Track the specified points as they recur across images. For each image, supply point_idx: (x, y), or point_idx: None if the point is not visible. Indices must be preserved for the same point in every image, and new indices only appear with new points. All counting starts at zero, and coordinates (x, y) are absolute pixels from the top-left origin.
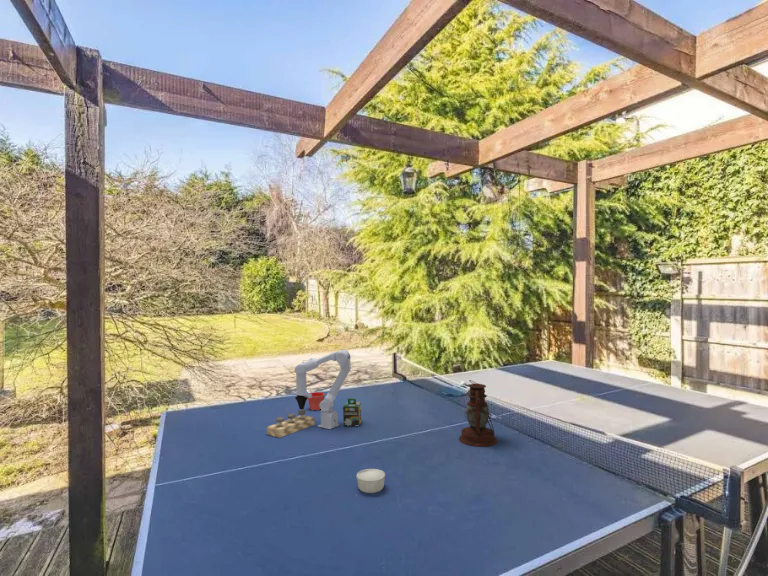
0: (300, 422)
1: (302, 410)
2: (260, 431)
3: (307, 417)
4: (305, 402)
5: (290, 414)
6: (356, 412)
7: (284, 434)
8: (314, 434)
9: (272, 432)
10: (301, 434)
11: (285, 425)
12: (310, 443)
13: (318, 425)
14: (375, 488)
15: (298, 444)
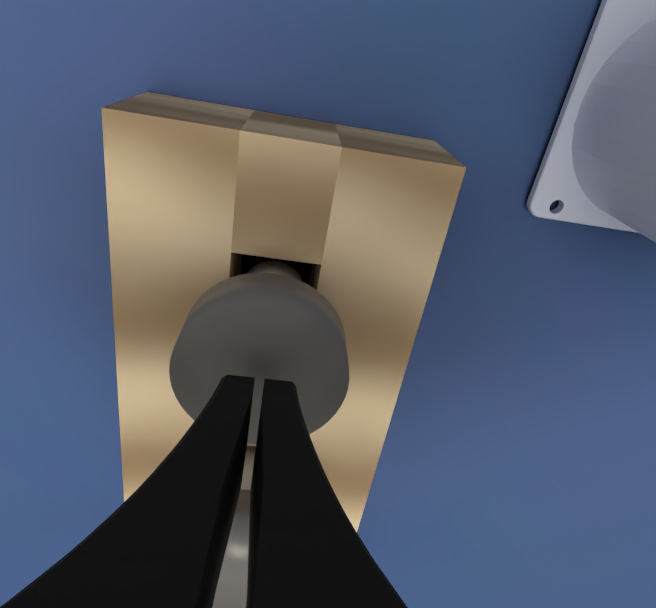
0: (378, 441)
1: (242, 342)
2: (27, 538)
3: (329, 215)
4: (341, 507)
5: (224, 576)
6: None
7: None
8: (594, 425)
9: None
10: (460, 467)
11: None
12: (635, 566)
13: (541, 201)
14: None
15: (549, 600)
